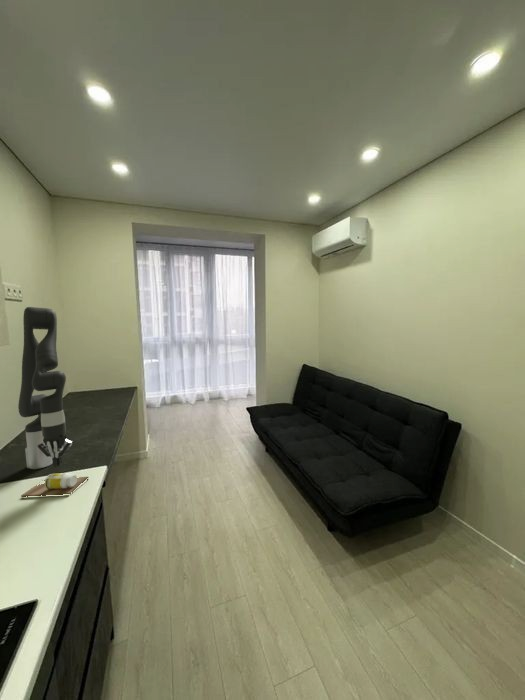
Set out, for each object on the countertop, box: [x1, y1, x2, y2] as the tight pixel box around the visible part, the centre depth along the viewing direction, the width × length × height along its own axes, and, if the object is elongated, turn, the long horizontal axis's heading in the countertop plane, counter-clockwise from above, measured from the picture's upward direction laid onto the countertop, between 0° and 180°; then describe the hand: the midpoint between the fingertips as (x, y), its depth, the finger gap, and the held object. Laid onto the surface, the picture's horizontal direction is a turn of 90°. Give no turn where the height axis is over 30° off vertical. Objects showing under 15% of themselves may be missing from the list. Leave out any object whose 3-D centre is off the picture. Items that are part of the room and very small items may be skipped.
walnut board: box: [20, 476, 89, 498], centre depth 114 cm, size 18×12×1 cm, turn 91°
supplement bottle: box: [44, 472, 77, 489], centre depth 112 cm, size 5×5×10 cm
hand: (57, 466), depth 113 cm, fingers closed
